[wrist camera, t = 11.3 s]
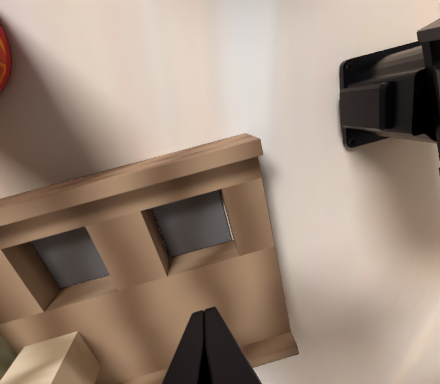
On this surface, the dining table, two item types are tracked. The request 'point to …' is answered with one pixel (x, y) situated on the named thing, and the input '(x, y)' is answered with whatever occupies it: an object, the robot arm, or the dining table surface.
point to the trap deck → (144, 261)
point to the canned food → (4, 60)
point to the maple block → (54, 363)
